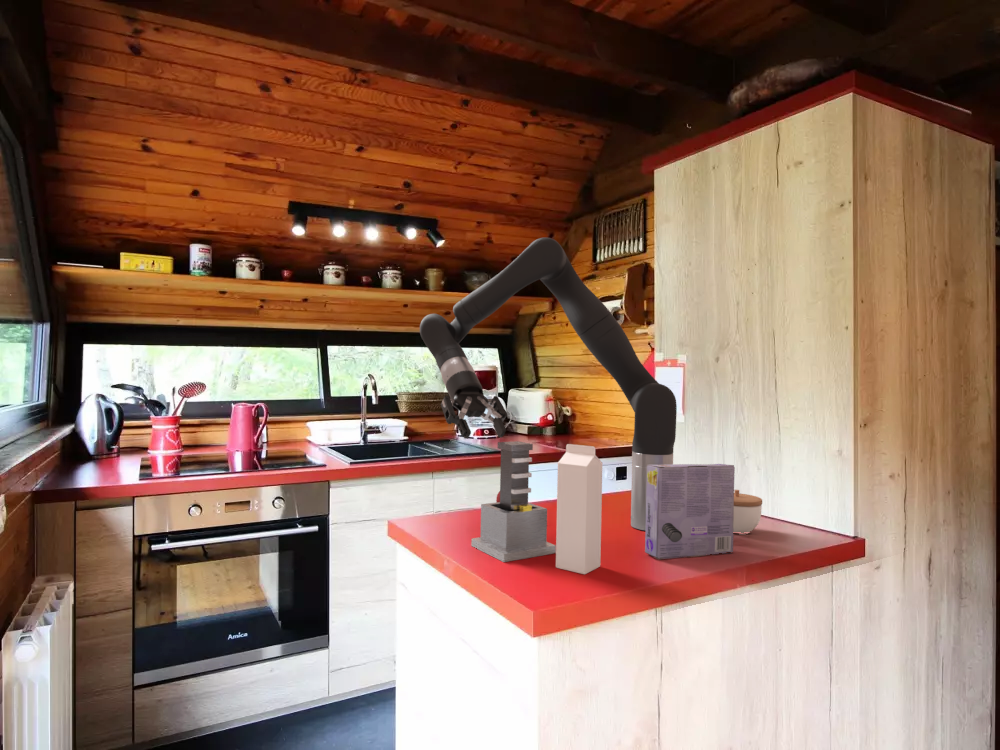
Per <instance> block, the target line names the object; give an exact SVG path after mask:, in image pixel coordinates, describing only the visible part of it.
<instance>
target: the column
mask: <svg viewBox="0 0 1000 750" xmlns="http://www.w3.org/2000/svg"><path fill="white" fill-rule="evenodd" d="M533 446H534V444H533V443H530V442H525V441H519V440H518V441H517V440H516V441H501V442H500V441H497V449H500V474H499V475H500V482H499V485H500V487H499V491H500V509H502V510H505V511H508V512H511V511H519V510H520V505H526V504H529V505H531V504H532V503H531V502H529V494H531V493H532V488H531V487H529V478H532V472H529V471H530V470H529V469H530V468H529V465H530V464H529V463H532V462H533V457H530V451H533V448H534V447H533ZM530 503H531V504H530Z"/></svg>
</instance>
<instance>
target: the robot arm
mask: <svg viewBox="0 0 1000 750" xmlns="http://www.w3.org/2000/svg"><path fill="white" fill-rule="evenodd" d="M539 280H540V281H541V282H542V283H543V285H545V287H547V289H548V290H549V291H550V292H551V293H552V294H553V296H554V297H555V298H556V300H557V301H558V303H559V304H560V306H561V308H562V310H563V312H564V314H565V316H566V317H567V319H568V322H569V323H570V325H571V326H572V328H573V329H574V331H575V333H576V335H577V336H578V337H579V339H580V340H581V341H582V342H583V344H584V345H585V347H586V348H587V350H588V351H589V352H590V353H591V354H592V355H593V357H594V358H595V359H596V361H598V363H600V365H601V366H602V367H603V368H604V369H605V370H606V371H607V372H608V373H609V374H610V376H611V377H612V378H613V379H614V380H615V382H616V384H617V385H618V386H619V388H620V389H621V391H622V392H623V394H624V395H625V398H626V399H627V401H628V403H629V404H630V406H631V409H632V410H633V412H634V424H633V425H634V427H633V428H634V431H633V437H632V447H631V452H632V453H631V497H630V499H631V500H630V526H631V527H632V528H634V529H637V530H641V531H646V489H647V465H671V464H674V446H675V442H676V437H677V436H676V435H677V413H678V412H677V407H678V406H677V405H678V404H677V399H676V395H675V394H674V392H673V391H672V390H671V389H670V387H668V386H666V385H665V384H662V383H659V382H658V381H657V380H656V379H655V378H654V377H653V376H652V374H650V372H649V371H648V370H647V368H646V367H644V365H643V364H642V362H641V361H640V359H639V358H638V356H637V354H636V352H635V350H634V348H633V345H632V343H631V341H630V339H629V338H628V336H627V334H626V333H625V331H624V329H623V327H622V326H621V324H619V322H618V321H617V319H616V318H615V316H614V315H613V313H612V312H611V311H610V310H609V309H608V308H607V306H606V305H605V304H604V303H603V301H601V300H600V299H599V298H598V297H597V295H596V294H595V293H594V292H592V291H591V289H590V288H589V287H587V285H585V283H584V281H583V280H582V279H581V277H580V276H579V275H578V273H577V272H576V270H575V268H574V267H573V265H572V263H571V261H570V260H569V257H568V256H567V254H566V252H565V250H564V248H563V247H562V245H561V244H560V243H559V242H558V241H557V240H555V239H554V238H551V237H546V236H545V237H539V238H537V239H535V240H533V241H532V242H531V243H530V244H529V245H528V246H527V247H526V248H525V249H524V250H523V251H522V252H521V253H520V254H519V255H518V256H517V257H516V258H515V259H513V261H512V262H511V263H509V264H508V265H507V266H506V267H505V268H504V269H503V270H501V271H500V272H499V273H498V274H496V275H494V276H493V277H492V278H490V279H489V280H488V281H486V282H485V283H483V284H482V285H481V286H479V287H478V288H476V289H474V290H473V291H472V292H470V293H469V294H467V295H466V296H464V297H463V298H461V299H460V300H458V302H456V303H455V304H454V305H453V308H452V312H453V315H454V319H453V320H452V321H451V322H449V321H448V320H447V319H446V318H445V317H443V316H442V315H440V314H437V313H430V314H427V315H425V316H424V317H423V318H422V320H421V322H420V323H419V334H420V337H421V340H423V342H424V344H425V346H426V347H427V349H428V350H429V352H430V353H431V355H432V357H433V358H434V359H435V362H436V363H435V364H436V365H437V367H438V370H439V371H440V374H441V375H440V376H441V379H442V381H443V385H444V386H445V388H446V391H447V394H448V395H449V396H448V395H445V396H444V398H443V399H442V401H441V403H440V406H441V409H442V413H443V415H444V419H445V422H446V423H447V424H448V425H451V424H455V425H454V426H456V427H457V428H458V431H459V434H460V435H461V437H463V438H464V439H469V438H470V436H471V434H472V431H471V429H470V426H469V424H468V422H467V420H466V419H465V417H466V416H467V418H473V417H474V418H475V417H477V418H480V417H481V418H482V419H483V420H484V421H489V422H490V423H491V424H493V425H492V426H493V428H494V431H495V433H496V434H497V437H498V438H503V437H504V435H505V433H506V431H507V428H506V427H505V424H504V421H505V419H506V417H507V416H508V413H507V411H506V410H505V407H504V405H503V403H502V402H501V400H500V399H499V397H498V396H497V395H494V396H493V398H487V397H486V396H485V395H484V390H483V386H482V384H481V382H480V380H479V379H478V375H477V374H476V371H475V369H474V367H473V365H472V364H471V363H470V361H469V359H468V357H467V356H466V353H465V351H464V349H463V347H462V346H461V345H460V343H461V342H462V340H463V339H465V337H466V336H467V335H468V334H469V332H470V331H471V330H472V329H473V328H474V327H475V326H476V325H478V324H480V323H481V322H483V321H484V320H486V319H487V318H488V317H490V316H491V315H492V314H494V313H495V312H496V311H498V309H499V308H501V307H502V306H503V305H504V304H506V302H507V301H508V300H510V299H511V298H512V297H513V296H514V295H515V294H517V293H518V292H520V291H521V290H522V289H524V288H525V287H527V286H530V285H531V284H532V283H535V282H537V281H539ZM454 408H455V409H456V410H457V411H459V412H458V414H456V412H455V409H454ZM486 410H487V413H485V412H486Z"/></svg>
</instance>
